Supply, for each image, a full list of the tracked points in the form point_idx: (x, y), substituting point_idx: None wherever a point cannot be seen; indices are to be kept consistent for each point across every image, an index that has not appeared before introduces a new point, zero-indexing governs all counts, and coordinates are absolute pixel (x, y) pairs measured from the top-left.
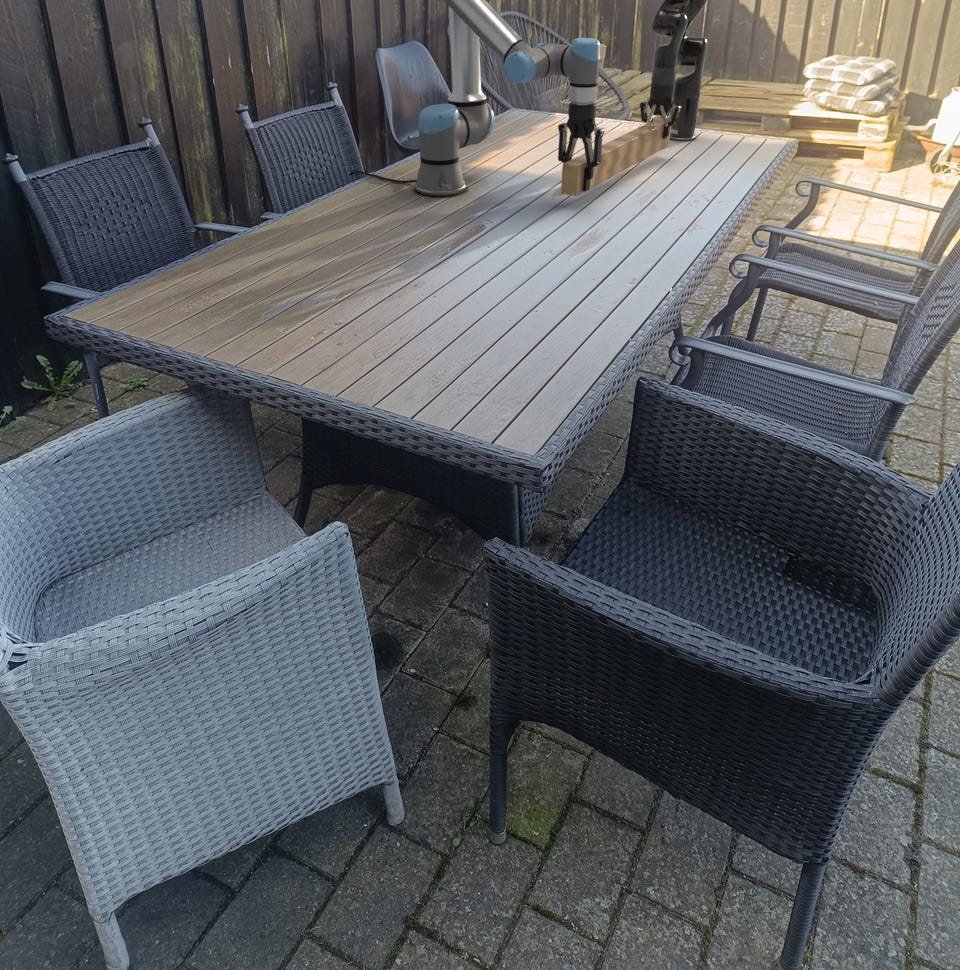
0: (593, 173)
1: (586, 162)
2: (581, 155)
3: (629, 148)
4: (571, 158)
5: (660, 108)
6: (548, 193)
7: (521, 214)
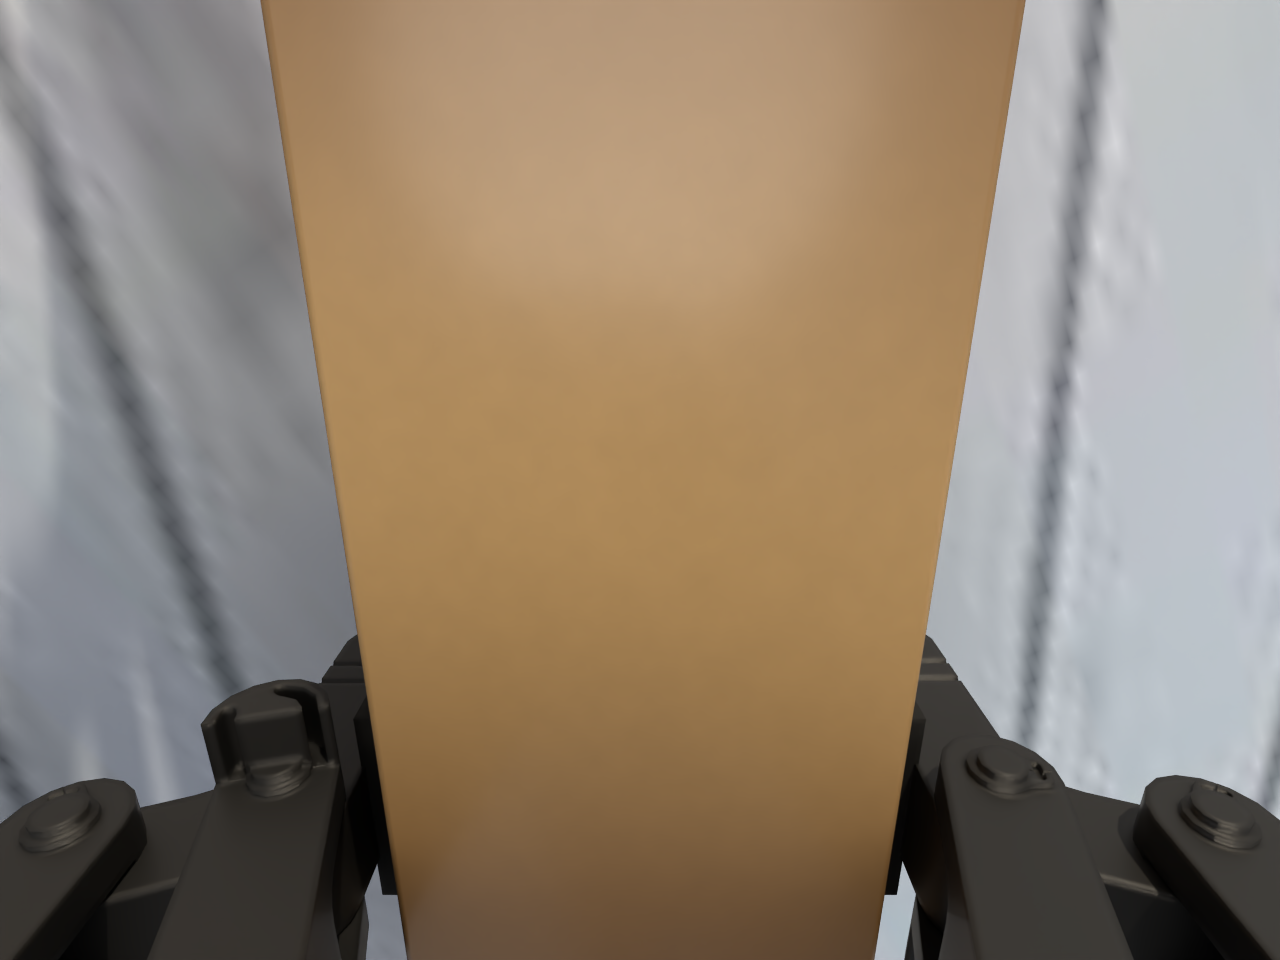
0: (956, 675)
1: (876, 930)
2: (379, 409)
3: None
4: (329, 828)
5: None
6: (125, 277)
7: (372, 927)
